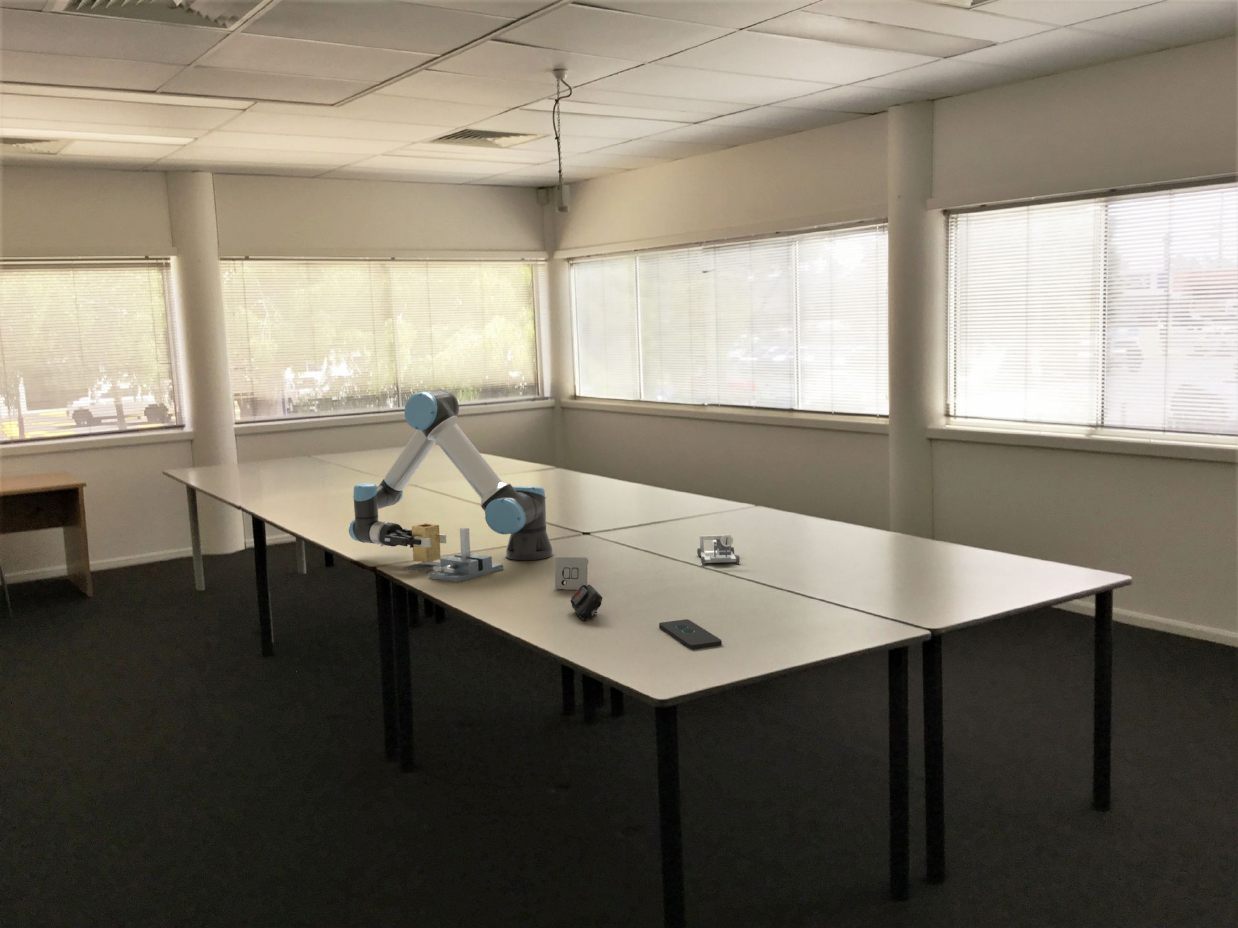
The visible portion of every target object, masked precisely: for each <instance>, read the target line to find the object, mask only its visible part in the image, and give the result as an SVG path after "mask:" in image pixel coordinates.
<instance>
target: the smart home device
mask: <svg viewBox="0 0 1238 928" xmlns="http://www.w3.org/2000/svg"><path fill="white" fill-rule="evenodd" d="M658 628H659V629H660V630H661V631H663V632H664V633H666V634H667V635H669V636H670V637H671V636H672V638H673V639H674V640H676V641H678V642H679V643H680V644H682V645H683V646H684V647H686V648H688V649H689V650H692V651H693V650H694V651H695V650H699V649H706V648H714V647H721V646H722V645H723V644H722V639H721V638H719V637H718V636H716V635H715V634H713V633H711V632H710V631H708V630H706V629H704V628H703V627H701V626H700V625H698V624H697V623H695V622H693V621H692V620H691V619H685V618H684V619H679V620H671V621H663V622H659V624H658Z"/></svg>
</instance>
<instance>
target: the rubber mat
mask: <svg viewBox="0 0 1238 928" xmlns="http://www.w3.org/2000/svg"><path fill="white" fill-rule="evenodd" d="M434 566H439V567H441V565H440V561H432V562H428V563H425V562H419V563H415V564H411V565H407V566H404V569H405V570H410V571H415V570H417V571H416V572H422V573H431V572H435V570H433V567H434Z"/></svg>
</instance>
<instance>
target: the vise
mask: <svg viewBox="0 0 1238 928" xmlns="http://www.w3.org/2000/svg"><path fill="white" fill-rule="evenodd" d="M470 537H471V534H470V528H468V527H462V528H459V539H460V553H457V554H454V555H453V556H451V555H448V556H445V557H441V559H439V562H440V565H441V567H439V566H434V567H433V570H434V571H431V572H428V578H429V579H432V580H433V579H434V580H437V581H445V582H450V583H457V584H459V583H462V582H465V581H468V580H469V581H470V580H472V579H475V578H478V576H479V577H482V576H485V575H488V574H491V572H492V573H495V572H498V570H499V571H502V570H504V564H502V563H498V562H497V563H496V562H493V558H492V556H491V555H486V554H485V555H484V554H479V553H478V554H477V553H471V541H470V540H471V539H470ZM484 574H485V575H484ZM461 581H462V582H461Z"/></svg>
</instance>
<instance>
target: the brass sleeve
mask: <svg viewBox="0 0 1238 928" xmlns="http://www.w3.org/2000/svg"><path fill="white" fill-rule="evenodd" d="M411 530H412V537H413V539H414V537H423V538H430V540H431V547H422V546H415V545H414V547H413V548H412V559H413V560H412V561H413V562H419V563H422V562H425V563H428V562H432V561H433V562H436V561H438V560H439V561H440V559H441V558H442V557H441V556H442V555H441V543H440V536H439V534H440V525H439V524H434V523H427V522H426V523H425V522H424V523H421V524H417V525H412V526H411Z"/></svg>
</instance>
